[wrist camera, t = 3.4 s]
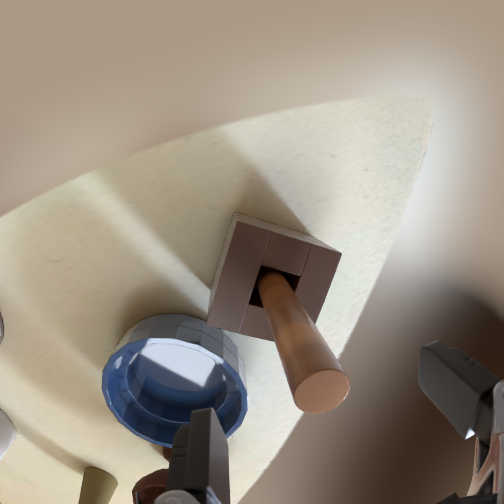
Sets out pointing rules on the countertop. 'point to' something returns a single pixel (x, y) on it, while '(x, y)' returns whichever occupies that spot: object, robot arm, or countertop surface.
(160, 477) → the ice cream bowl
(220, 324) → the stand
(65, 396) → the countertop surface
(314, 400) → the stirring stick
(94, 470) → the cork
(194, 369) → the blue round bowl
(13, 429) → the mug
